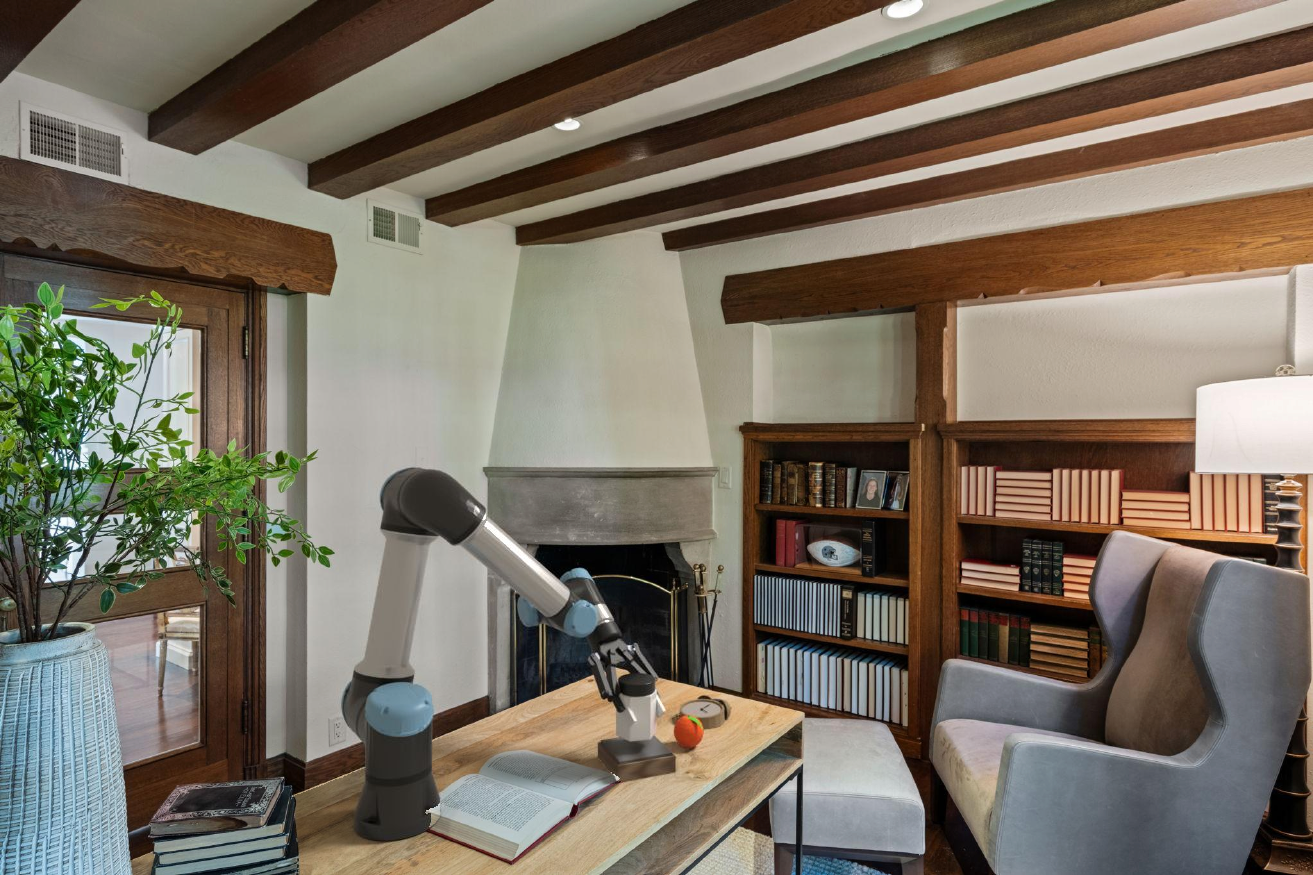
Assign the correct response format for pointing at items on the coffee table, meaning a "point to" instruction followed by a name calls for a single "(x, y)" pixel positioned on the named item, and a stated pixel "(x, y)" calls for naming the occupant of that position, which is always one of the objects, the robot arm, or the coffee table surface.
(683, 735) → the clementine
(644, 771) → the stand
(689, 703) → the alarm clock
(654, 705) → the jar
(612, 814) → the coffee table surface
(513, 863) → the coffee table surface
